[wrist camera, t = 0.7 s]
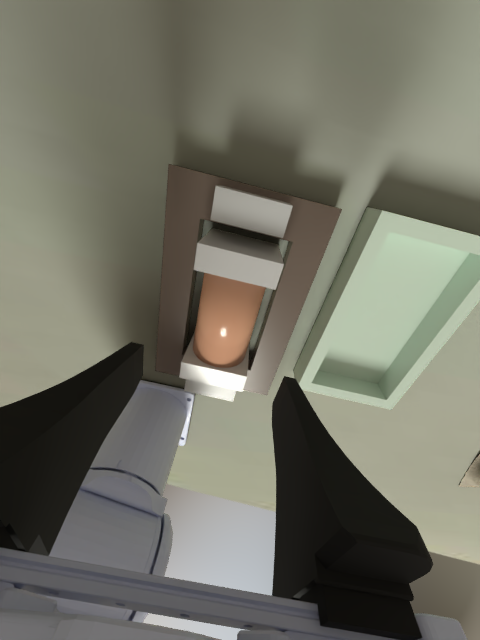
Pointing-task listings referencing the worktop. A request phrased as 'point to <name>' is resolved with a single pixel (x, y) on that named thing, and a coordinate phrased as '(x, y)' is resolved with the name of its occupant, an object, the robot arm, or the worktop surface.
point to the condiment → (472, 475)
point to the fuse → (228, 306)
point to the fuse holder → (249, 214)
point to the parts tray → (390, 308)
